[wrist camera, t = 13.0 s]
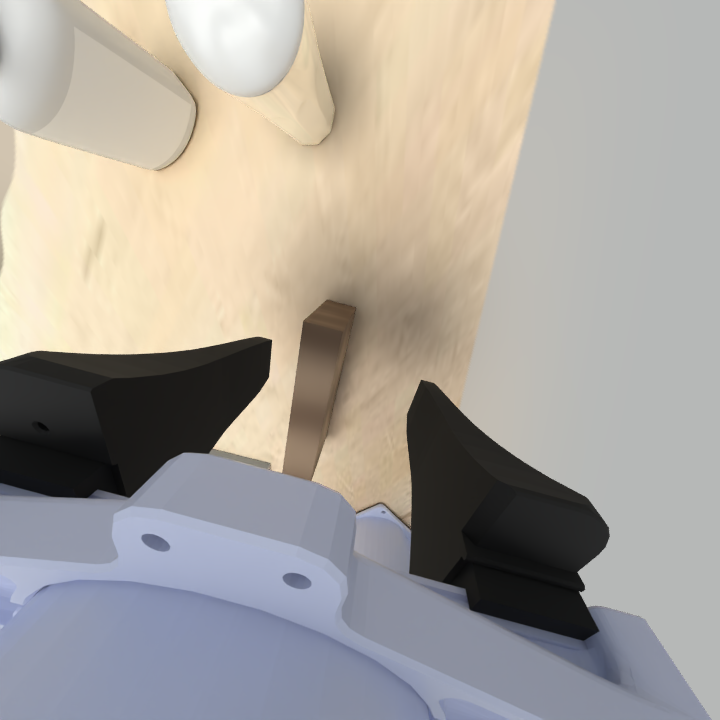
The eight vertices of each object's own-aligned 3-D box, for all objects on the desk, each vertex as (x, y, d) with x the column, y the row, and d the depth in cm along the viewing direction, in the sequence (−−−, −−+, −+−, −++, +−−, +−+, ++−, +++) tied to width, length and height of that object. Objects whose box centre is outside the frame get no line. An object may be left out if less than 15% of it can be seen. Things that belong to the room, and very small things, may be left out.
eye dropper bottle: (215, 157, 17) (-102, 9, 6) (145, 175, 18) (-238, 76, 7) (187, 67, 15) (-337, -374, 4) (110, 92, 16) (-476, -213, 5)
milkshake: (372, 109, 15) (340, -92, 6) (305, 176, 17) (204, 103, 8) (323, 21, 14) (187, -410, 5) (257, 104, 15) (66, -85, 6)
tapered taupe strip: (326, 435, 26) (309, 486, 21) (304, 430, 26) (281, 478, 21) (356, 307, 20) (343, 331, 15) (327, 299, 20) (303, 321, 15)
